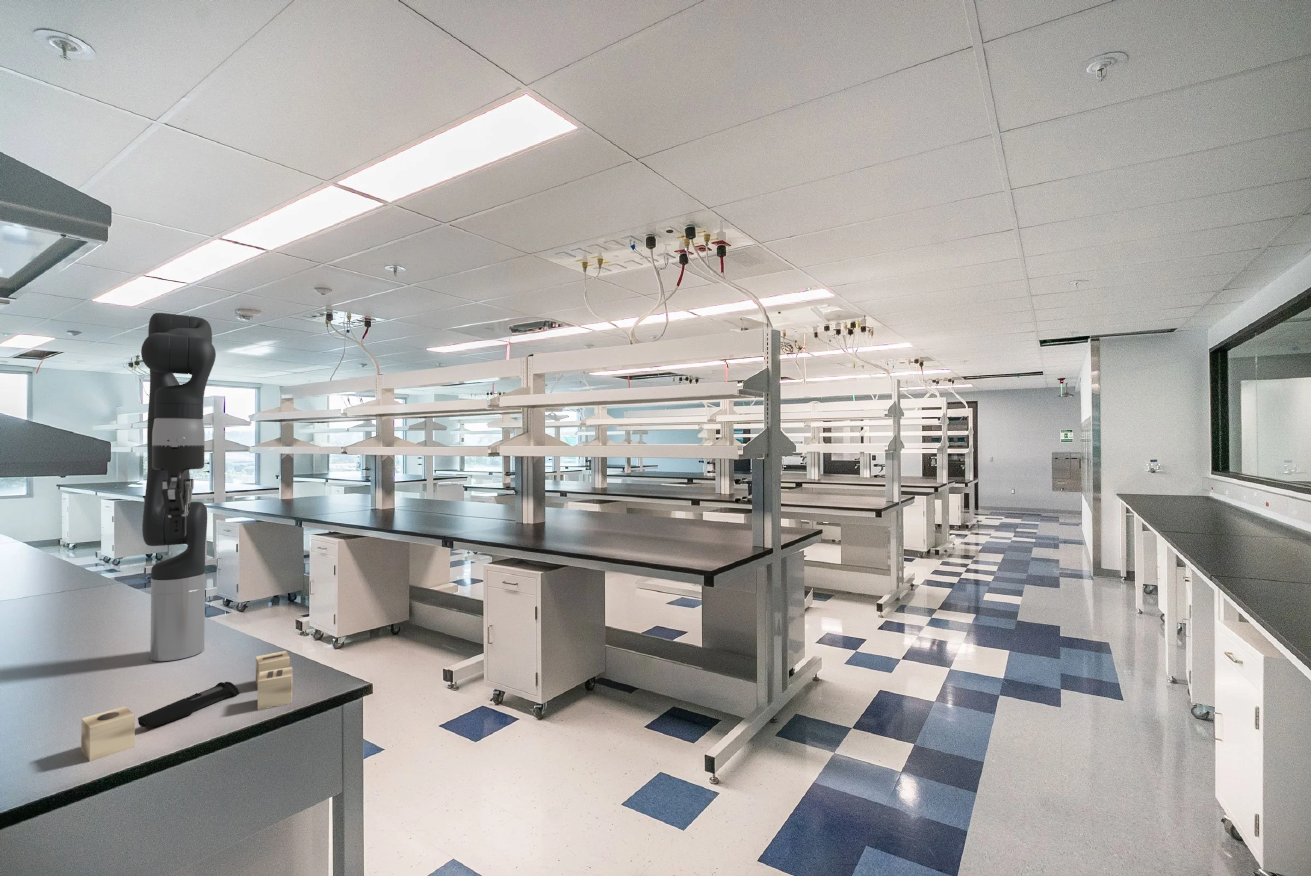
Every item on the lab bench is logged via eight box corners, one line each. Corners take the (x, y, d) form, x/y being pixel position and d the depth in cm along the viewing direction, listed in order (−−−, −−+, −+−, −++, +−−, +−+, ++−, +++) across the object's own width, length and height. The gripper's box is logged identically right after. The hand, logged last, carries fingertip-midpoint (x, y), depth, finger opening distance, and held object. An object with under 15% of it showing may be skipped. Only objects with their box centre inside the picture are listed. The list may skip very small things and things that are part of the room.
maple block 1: (81, 751, 88) (81, 717, 88) (124, 737, 92) (125, 705, 92) (89, 762, 85) (90, 726, 85) (134, 747, 90) (134, 714, 90)
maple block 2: (255, 682, 114) (255, 655, 114) (285, 675, 117) (285, 650, 117) (258, 690, 110) (258, 663, 110) (289, 683, 113) (290, 657, 113)
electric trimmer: (130, 734, 94) (130, 714, 94) (226, 693, 109) (225, 676, 109) (147, 737, 93) (147, 717, 93) (241, 695, 108) (241, 678, 108)
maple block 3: (259, 699, 106) (260, 671, 106) (292, 693, 109) (292, 666, 109) (257, 710, 102) (257, 680, 102) (291, 703, 105) (291, 675, 105)
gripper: (161, 443, 112) (160, 534, 112) (143, 443, 101) (142, 544, 101) (209, 443, 116) (209, 531, 116) (198, 443, 104) (197, 541, 104)
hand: (177, 537), depth 108 cm, fingers closed
